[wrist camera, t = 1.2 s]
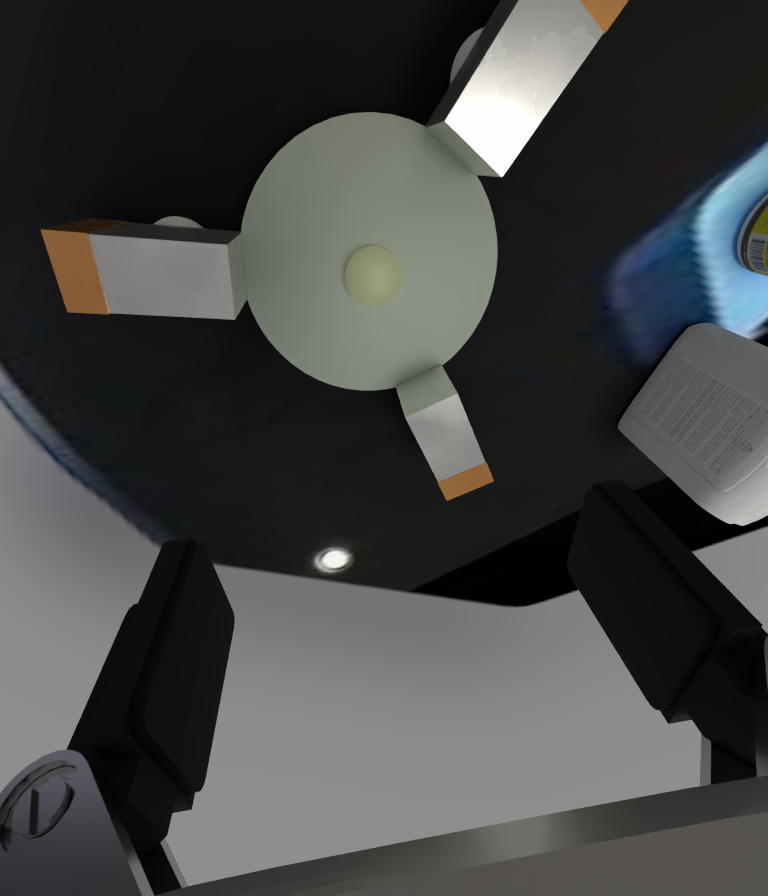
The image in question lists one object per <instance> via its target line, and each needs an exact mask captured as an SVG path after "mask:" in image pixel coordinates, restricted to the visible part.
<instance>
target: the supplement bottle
mask: <svg viewBox="0 0 768 896" xmlns="http://www.w3.org/2000/svg"><path fill="white" fill-rule="evenodd" d="M737 254H738V258H739V260H740V262H741V264H742V265H743V266H744V267H745V268H746V269H748V270H749V271H752V272H755V273H759V274H762V275H766V276H768V194H767V195H766V196H765V197H764V198H763V199H762V200H761V201H760V202H759V203H758V204H757V205H756V206H755V207H754V208H753V210H752V211H751V212H750V214H749V215H748V217H747V218H746V220H745V222H744V224H743V226H742V228H741V230H740V233H739V237H738V241H737Z"/></svg>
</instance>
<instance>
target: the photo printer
mask: <svg viewBox="0 0 768 896" xmlns="http://www.w3.org/2000/svg"><path fill="white" fill-rule="evenodd" d="M618 429H619V430H620V431H621V432H622V433H623V434H624V435H625V436H626V437H627V438H628V439H629V440H630V441H631V442H632V443H633V444H635V445H636V446H637V447H638V448H639V449H640V450H641V451H642V452H643V453H644V454H645V455H646V456H647V457H648V458H649V459H650V460H651V461H653V462H654V463H655V464H656V465H657V466H658V467H659V468H660V469H661V470H662V471H663V472H664V473H665V474H666V475H667V476H668V477H670V478H671V479H672V480H673V481H674V482H675V483H676V484H677V485H678V486H679V487H680V488H681V489H682V490H683V491H684V492H685V493H686V494H687V495H689V496H690V497H691V498H692V499H693V500H694V501H695V502H696V503H697V504H698V505H700V506H701V507H702V508H704V509H705V510H706V511H708V512H709V513H711V514H712V515H714V516H716V517H717V518H719V519H721V520H723V521H724V522H726V523H729V524H733V523H735V524H738V525H741V526H743V525H746V524H749V523H751V522H754V521H756V520H759V519H761V518H763V517H765V516H767V515H768V347H765V346H763V345H761V344H759V343H756V342H754V341H752V340H749V339H747V338H745V337H743V336H740V335H738V334H736V333H733V332H731V331H729V330H726V329H724V328H722V327H720V326H717V325H715V324H712V323H699V324H696V325H692V326H690V327H688V328H687V329H686V330H685V331H684V332H683V334H682V335H681V336H680V337H679V338H678V339H677V341H676V342H675V343H674V344H673V346H672V347H671V349H670V350H669V351H668V353H667V354H666V355H665V357H664V358H663V360H662V361H661V362H660V364H659V365H658V366H657V368H656V369H655V370H654V372H653V373H652V375H651V376H650V377H649V379H648V380H647V382H646V383H645V384H644V386H643V387H642V389H641V390H640V392H639V393H638V394H637V396H636V397H635V399H634V400H633V401H632V403H631V404H630V406H629V407H628V409H627V410H626V412H625V413H624V415H623V416H622V418H621V420H620V422H619V424H618Z"/></svg>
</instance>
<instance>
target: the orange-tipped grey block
mask: <svg viewBox="0 0 768 896" xmlns="http://www.w3.org/2000/svg"><path fill="white" fill-rule="evenodd" d="M395 386H396V389H397V393H398V396H399V399H400V402H401V405H402V409H403V412H404V415H405V418H406V420H407V422H408V424H409V426H410V428H411V430H412V432H413V434H414V436H415V438H416V440H417V442H418V443H419V445H420V447H421V449H422V451H423V453H424V455H425V457H426V459H427V461H428V463H429V465H430V467H431V469H432V471H433V473H434V475H435V477H436V479H437V482H438V484H439V486H440V488H441V490H442V492H443V494H444V496H445V498H446V500H447V501H448V500H450V499H452V498H455V497H457V496H460V495H462V494H464V493H467V492H469V491H472V490H474V489H476V488H479V487H481V486H484V485H486V484H488V483H491V482H493V481H494V480H493V478H492V475H491V473H490V470H489V468H488V465H487V463H486V461H485V459H484V457H483V455H482V453H481V450H480V448H479V445H478V443H477V440H476V438H475V435H474V433H473V430H472V428H471V425H470V423H469V420H468V418H467V415H466V413H465V411H464V408H463V406H462V403H461V401H460V398H459V396H458V393H457V392H456V390H455V388H454V386H453V384H452V383H451V381H450V379H449V377H448V376H447V374H446V372H445V370H444V369H443V367H442V365H441V364H440V365H438V366H436V367H434V368H431V369H429V370H427V371H425V372H423V373H421V374H419V375H417V376H415V377H412V378H410V379H408V380H406V381H404V382H402V383H400V384H398V385H395Z"/></svg>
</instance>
